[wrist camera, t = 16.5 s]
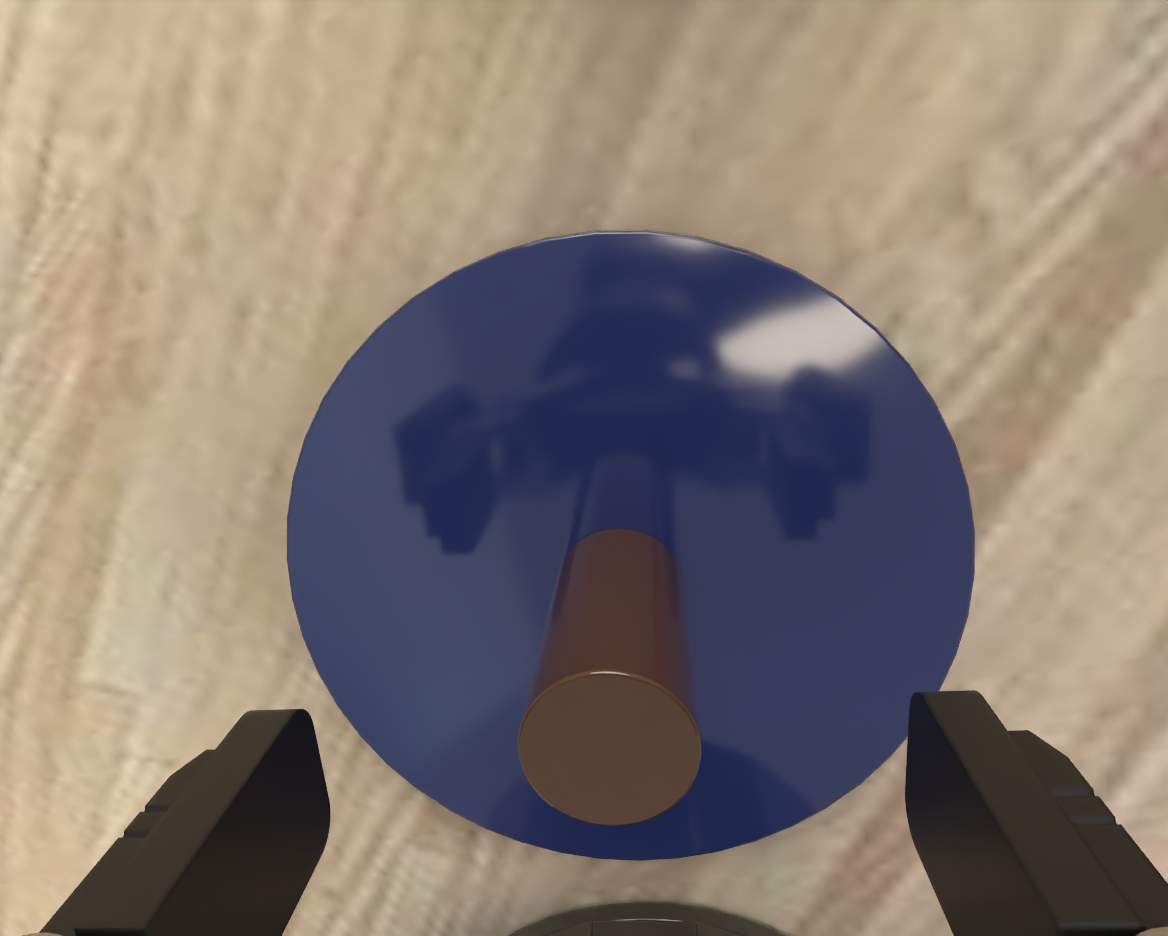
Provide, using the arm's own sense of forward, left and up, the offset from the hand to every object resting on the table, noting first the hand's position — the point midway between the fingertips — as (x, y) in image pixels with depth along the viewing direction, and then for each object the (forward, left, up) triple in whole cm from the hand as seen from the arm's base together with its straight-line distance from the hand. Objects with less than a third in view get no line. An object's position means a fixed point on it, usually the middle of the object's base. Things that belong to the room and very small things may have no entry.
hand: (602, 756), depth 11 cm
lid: (0, 0, -5) cm, 5 cm away
